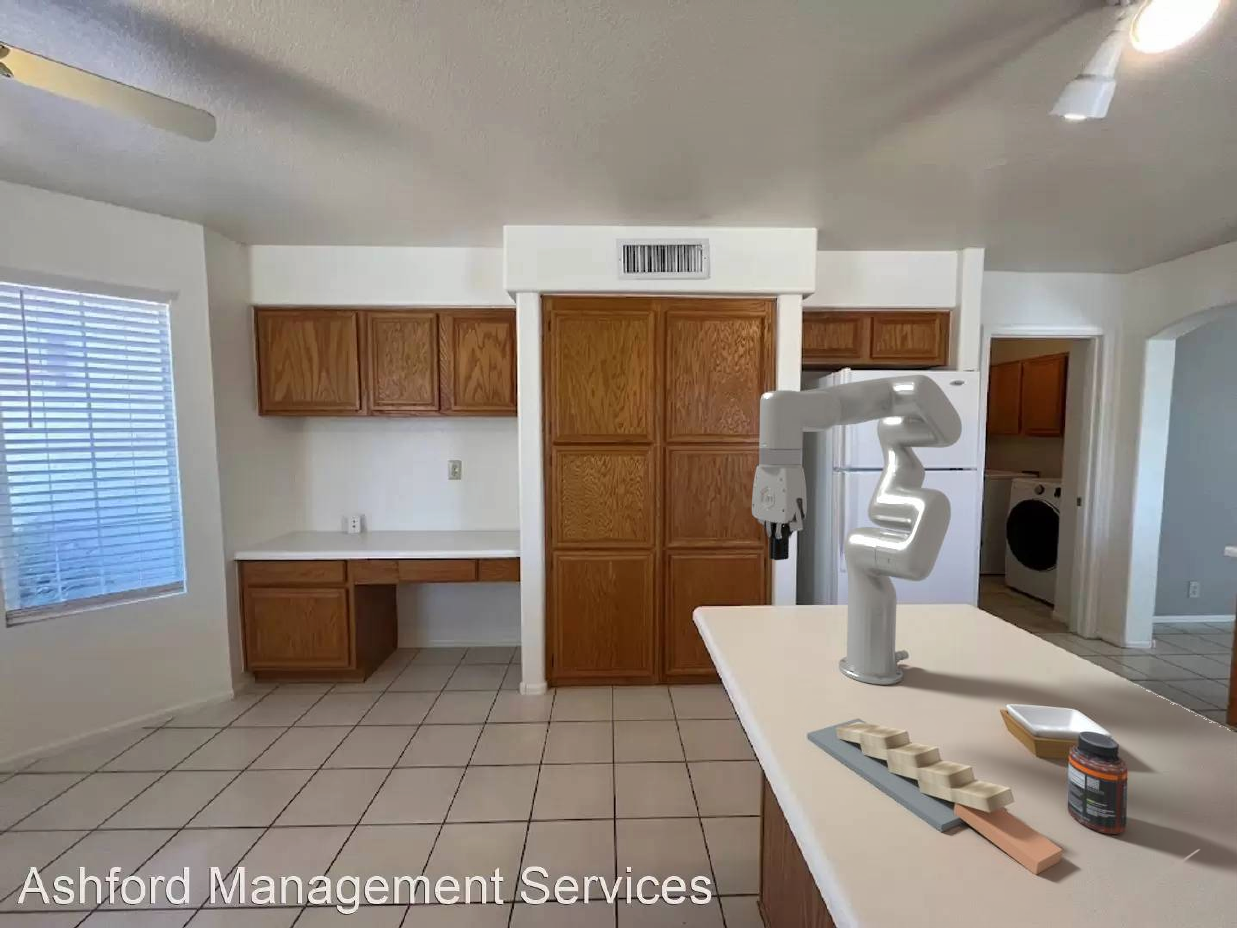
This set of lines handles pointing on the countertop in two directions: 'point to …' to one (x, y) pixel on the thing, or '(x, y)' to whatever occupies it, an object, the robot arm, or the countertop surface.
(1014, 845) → the domino
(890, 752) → the domino
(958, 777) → the domino
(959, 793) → the domino
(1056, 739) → the soap dish
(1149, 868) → the countertop surface
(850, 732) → the domino
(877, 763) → the runway mat
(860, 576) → the robot arm
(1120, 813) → the supplement bottle
